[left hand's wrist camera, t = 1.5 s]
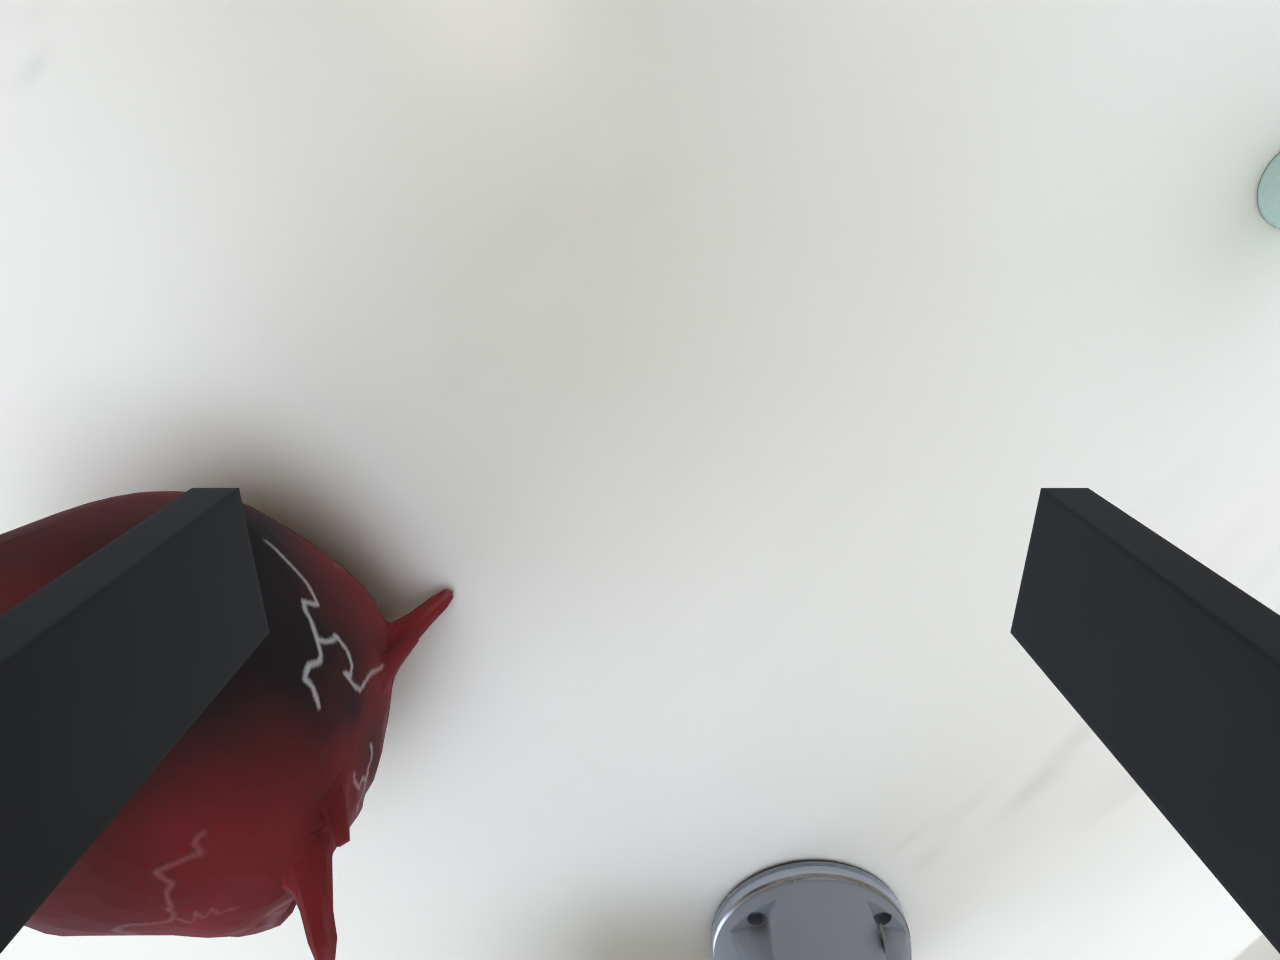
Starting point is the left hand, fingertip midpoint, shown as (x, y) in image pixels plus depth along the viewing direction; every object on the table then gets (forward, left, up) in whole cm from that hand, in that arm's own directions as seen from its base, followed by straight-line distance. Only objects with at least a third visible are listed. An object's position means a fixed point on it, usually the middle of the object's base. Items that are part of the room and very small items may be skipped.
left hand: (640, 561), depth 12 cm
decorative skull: (-21, +26, -31) cm, 46 cm away
